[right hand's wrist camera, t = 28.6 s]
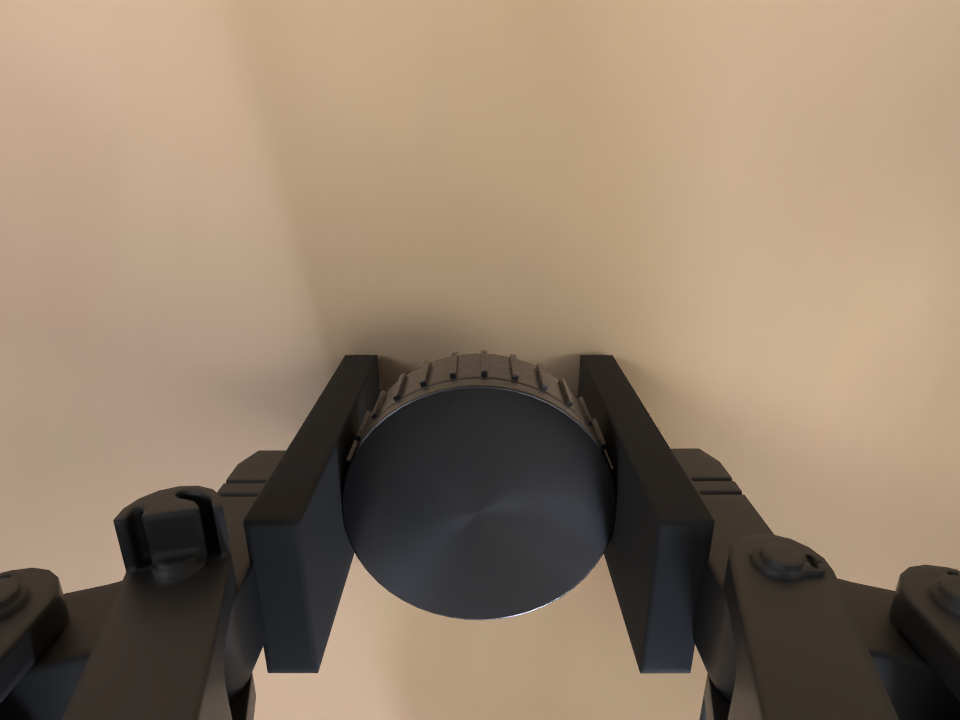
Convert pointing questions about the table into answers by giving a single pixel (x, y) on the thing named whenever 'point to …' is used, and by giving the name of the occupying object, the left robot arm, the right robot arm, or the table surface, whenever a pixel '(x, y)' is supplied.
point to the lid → (479, 488)
